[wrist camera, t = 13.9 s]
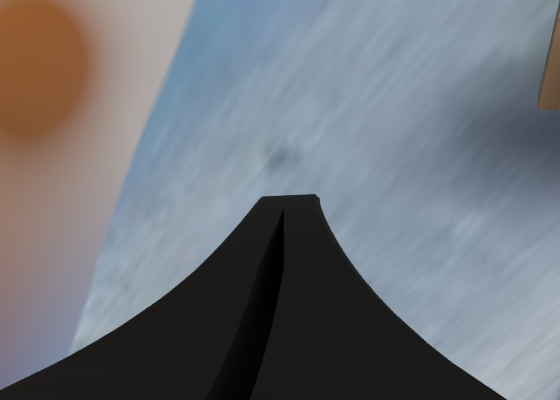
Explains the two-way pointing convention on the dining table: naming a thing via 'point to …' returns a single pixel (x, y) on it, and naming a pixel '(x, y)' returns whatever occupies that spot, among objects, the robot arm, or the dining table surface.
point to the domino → (551, 72)
